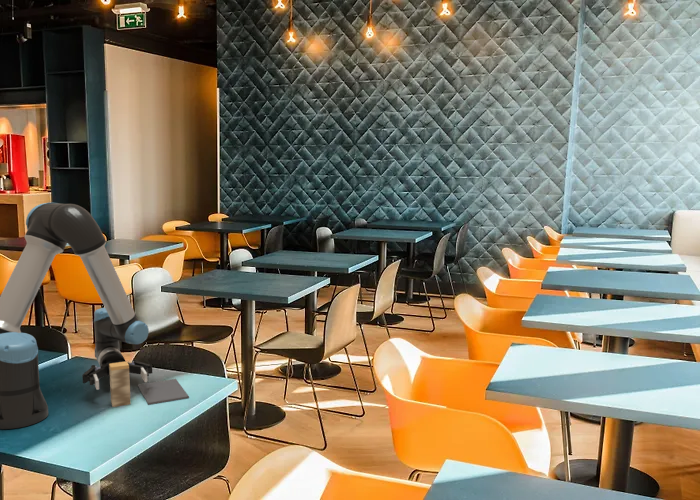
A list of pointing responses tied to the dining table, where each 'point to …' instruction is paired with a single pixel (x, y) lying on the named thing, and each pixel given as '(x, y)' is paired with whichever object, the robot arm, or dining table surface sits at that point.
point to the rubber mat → (162, 391)
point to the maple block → (119, 384)
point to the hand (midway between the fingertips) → (122, 381)
